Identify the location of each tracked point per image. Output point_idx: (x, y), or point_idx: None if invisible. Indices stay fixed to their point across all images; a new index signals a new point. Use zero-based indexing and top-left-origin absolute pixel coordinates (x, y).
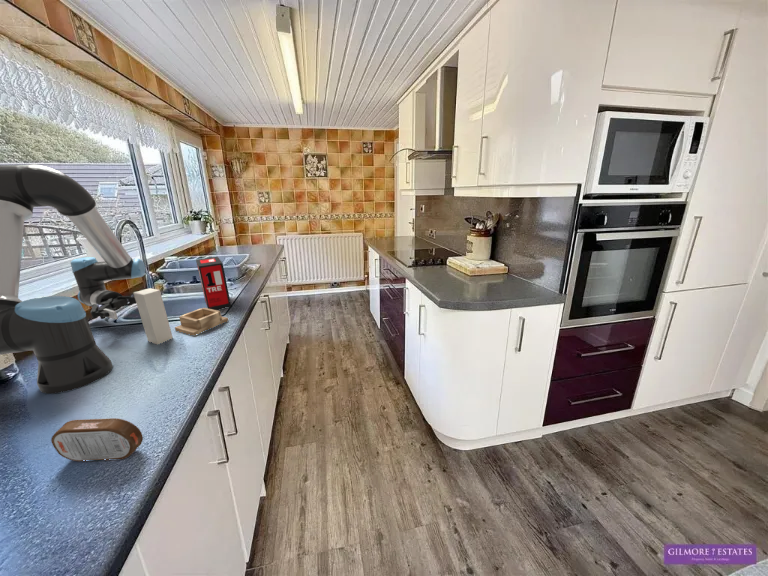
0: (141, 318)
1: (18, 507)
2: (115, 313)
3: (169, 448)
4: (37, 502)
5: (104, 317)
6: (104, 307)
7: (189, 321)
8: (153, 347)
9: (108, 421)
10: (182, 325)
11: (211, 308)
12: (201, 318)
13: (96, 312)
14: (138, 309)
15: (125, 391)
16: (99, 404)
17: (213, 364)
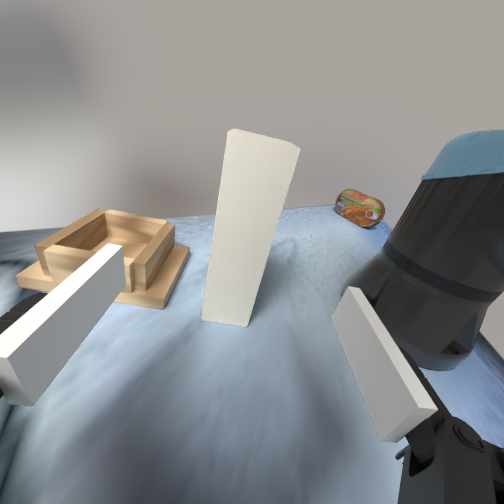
0: (266, 259)
1: (388, 229)
2: (346, 295)
3: (322, 205)
4: (380, 225)
5: (402, 451)
6: (452, 500)
7: (165, 242)
8: (260, 290)
9: (355, 191)
10: (148, 286)
11: None
12: (156, 221)
13: (486, 446)
14: (276, 226)
15: (333, 245)
16: (357, 250)
17: None
